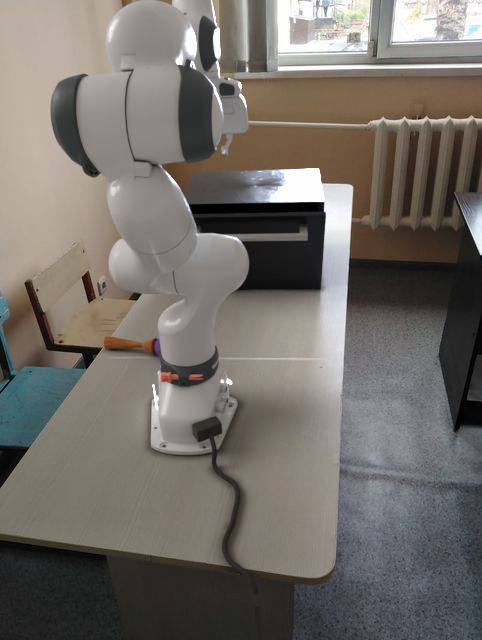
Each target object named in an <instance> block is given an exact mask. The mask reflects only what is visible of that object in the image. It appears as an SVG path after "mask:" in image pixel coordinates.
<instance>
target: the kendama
mask: <svg viewBox="0 0 482 640" xmlns="http://www.w3.org/2000/svg"><path fill="white" fill-rule="evenodd" d="M103 347H104V348H105V349H106V350H118V349H119V350H120V349H144V350H145V351H147V352H149V353H150V354H152V355H154V356H155V355H157V357H159V358H160V351H161V347H160V340H159V338H157V337H154V338H152V339H150V340H147V341H145V342H139V341H135V340H129V339H124V338H119V337H114V336H110V335H106V337H104V340H103Z"/></svg>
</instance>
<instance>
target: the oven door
mask: <svg viewBox="0 0 482 640" xmlns="http://www.w3.org/2000/svg"><path fill="white" fill-rule="evenodd" d="M192 216H193V218H194V221H195V224H196V227H197V231H198V233H215V234H221V235H227V236H232V237H236V238H238V239H239V240H240V241H241V242H242V244H243V245H244V247H245V249H246V251H247V253H248V258H249V270H248V274H247V276H246V279H245V280H244V282H243V284H242V285H241V286H240V287H239V288H238V289H237V290H236V291H307V290H308V291H309V290H310V291H312V290H313V291H316V290H317V291H318V290H319V291H320V290H322V278H323V267H324V266H323V264H324V249H325V236H326V235H325V234H326V224H327V223H326V219H327V212H326V211H324V212H287V213H233V214H192Z"/></svg>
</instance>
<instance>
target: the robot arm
mask: <svg viewBox="0 0 482 640" xmlns="http://www.w3.org/2000/svg"><path fill="white" fill-rule="evenodd" d="M104 40H105V42H104V45H105V52H106V57H107V59H108V61H109V64H110V66H111V68H112V69H113V70H114V71H113V72H105V73H96V74H92V75H89V74H87V73H80V74H76V75H72V76H68V77H66V78H63V79H61V80H59V81H58V82H57V84H56V86H55V87H54V90H53V92H52V94H51V99H50V108H49V110H50V111H49V112H50V113H49V114H50V123H51V127H52V132H53V135H54V138H55V140H56V142H57V144H58V145H59V147H60V148H61V149H62V150H63V152H64V153H65V154H66V155H67V156H68V157H69V159H70V160H71V161H72V162H74V163H75V164H77V165H79V166H80V167H81V169H82V171H83V173H84V174H85V175H86V176H88V177H90V178H97V177H99V176H100V175H102V176H103V177H104V178H105V181H106V188H107V189H106V200H107V206H108V210H109V213H110V216H111V218H112V221H113V223H114V226H115V228H116V230H117V232H118V234H119V235H120V237H121V238H120V239H118V240H117V241H116V242H115V243H114V245H113V246H112V248H111V250H110V251H109V252H110V253H109V255H108V270H109V274H110V277H111V279H112V281H113V282H114V284H115V286H117V287H118V288H119V289H120V290H121V291H126V292H131V293H136V294H141V295H142V294H143V295H182V296H184V298H182V299H180V300H178V301H177V302H175V303H172V304H171V305H170V306H167V308H165V309H164V311H163V312H161V314H160V315H159V318H158V320H157V333H158V334H157V335H158V339H159V340H160V347H161V351H160V357H159V367H160V368H159V370H158V371H157V378H158V394H156V388H155V384H152V388H153V397H154V398H153V399H152V400H151V413H150V415H151V416H150V419H151V420H150V447H151V448H152V450H155V451H157V452H159V453H162V454H167V455H173V456H174V455H175V456H198V455H199V456H200V455H205V454H209V453H211V466H212V469H213V471H214V473H215V474H216V475H217V476H218V477H220V478H221V479H223V480H225V481H226V482H227V483H230V485H231V486H232V487H233V489H234V496H235V497H234V503H233V507H232V512H231V516H230V521H229V522H228V523H229V524H228V526H227V528H226V530H225V532H224V535H223V538H222V542H221V551H222V555H223V558H224V560H225V561H226V562H227V564H228V565H229V566H230V567H232V568H233V569H234V570H235V571H237V572H238V573H239V574H240V575H241V576H242V577H243V578H244V579H245V580H246V581H247V583H248V584H249V586H250V589H251V591H252V593H253V595H258V594H259V592H260V591H259V588H258V586H257V584H256V582H255V579H254V578H253V577H252V575H251V574H250V572H249V571H248V570H247V569H245V568H244V567H243V566H242V565H240V564H238V562H236V561H235V560H234V559H233V558H232V557H231V555H230V552H229V548H228V546H229V545H228V544H229V540H230V537H231V534H232V532H233V529H234V527H235V525H236V522H237V516H238V511H239V508H240V503H241V491H240V487H239V485H238V483H237V482H236V480H234V479H233V478H232V477H230V476H228V475H227V474H225V473H224V472H222V470H220V468H219V466H218V464H217V458H218V450H219V449H220V448H221V447H222V444H223V442H224V439H225V436H226V435H227V432H228V430H229V427H230V425H231V423H232V420H233V418H234V415H235V413H236V410H237V409H238V404H239V403H238V400H237V399H236V398H234V397H232V396H230V389H229V385H233V381H232V380H231V379H229V378H228V374H227V372H226V370H224V369H223V368H222V367H221V366H220V365H219V364H220V361H219V360H220V355H219V350H218V347H217V345H216V338H215V336H216V335H215V333H216V332H215V330H216V329H215V327H216V325H215V324H216V318H217V317H216V316H217V313H218V310H219V308H220V306H221V305H222V303H223V302H224V301H225V300H226V298H228V297H229V296H230V295H231V294H232V293H234V292H236V291H238V290H237V289H238V288H239V287H240V286H241V285H242V284H243V282H244V280H245V279H246V276H247V274H248V270H249V258H248V253H247V251H246V249H245V247H244V245H243V244H242V242H241V241H240V240H239V239H238V238H236V237H232V236H227V235H221V234H215V233H198V231H197V227H196V224H195V221H194V218H193V216H192V213H191V210H190V208H189V205H188V203H187V200H186V198H185V196H184V195H185V193H184V192H183V191H182V189H181V188H180V186H179V185H178V183H177V182H176V181H175V180H174V178H173V177H172V176H171V174H170V173H169V172H168V171H167V170H165V169H164V168H163V165H167V164H175V163H183V162H186V164H188V165H189V164H194V163H199V162H203V161H206V160H209V159H211V158H212V157H213V156H214V154H215V153H216V152H217V151H218V147H219V143H220V141H221V139H222V136H223V135H225V139H226V142H225V144H224V145H221V147H220V151H221V156H223V157H225V156H229V147H230V145H231V144H232V141H233V138H234V136H233V134H246V133H247V131H249V129H250V124H249V123H250V121H249V113H248V108H247V107H248V106H247V102H246V99H245V97H244V96H243V95H242V94H241V93H242V84H241V82H240V81H239V80H237V79H233V78H230V77H226V76H223V75H220V67H219V62H218V61H219V60H220V59H221V56H222V45H221V29H220V27H219V26H218V25H217V23H216V16H215V9H214V3H213V0H172V1H171V4H170V3H167V2H164V1H161V0H137V1H133V2H130V3H129V4H127V5H125V6H123V7H122V8H120V10H118V11H117V12H116V13H115V14H114V15H113V17H112V18H111V19H110V21H109V23H108V25H107V29H106V31H105V39H104ZM253 612H254V624H255V634H256V635H255V636H256V640H263V639H264V638H263V629H262V627H263V626H262V619H261V617H262V616H261V606H254V611H253Z"/></svg>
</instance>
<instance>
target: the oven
mask: <svg viewBox="0 0 482 640" xmlns="http://www.w3.org/2000/svg"><path fill="white" fill-rule="evenodd" d="M184 196H185V198H186V200H187V203H188V205H189V208H190V210H191V213H192V214H233V213H287V212H325V202H326V201H325V195H324V191H323V185H322V180H321V173H320V168H298V169H297V168H295V169H263V170H262V169H261V170H260V169H259V170H257V169H256V170H223V171H222V170H221V171H219V170H218V171H217V170H216V171H195V173H194V174H193V177H192V179H191V181H190V183H189V184H188V187H187V189H186V191H185V193H184Z"/></svg>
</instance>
